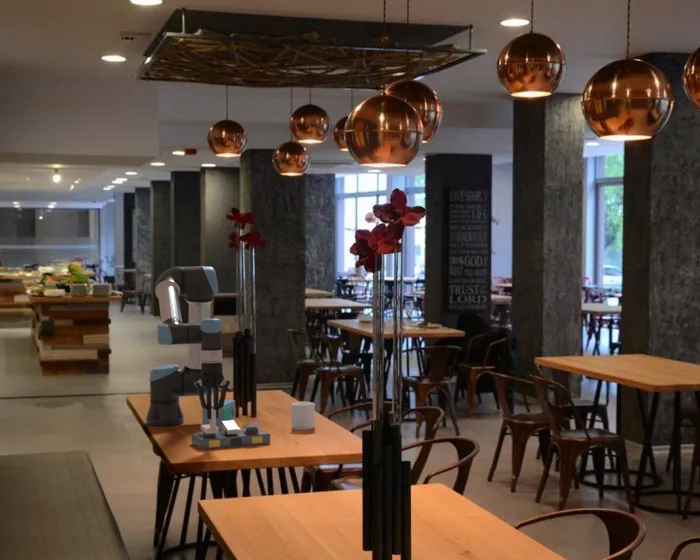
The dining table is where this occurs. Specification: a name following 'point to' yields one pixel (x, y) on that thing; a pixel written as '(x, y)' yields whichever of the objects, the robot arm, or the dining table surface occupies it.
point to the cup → (303, 415)
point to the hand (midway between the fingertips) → (212, 427)
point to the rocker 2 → (230, 427)
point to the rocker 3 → (251, 425)
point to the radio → (221, 414)
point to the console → (231, 439)
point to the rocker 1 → (209, 429)
